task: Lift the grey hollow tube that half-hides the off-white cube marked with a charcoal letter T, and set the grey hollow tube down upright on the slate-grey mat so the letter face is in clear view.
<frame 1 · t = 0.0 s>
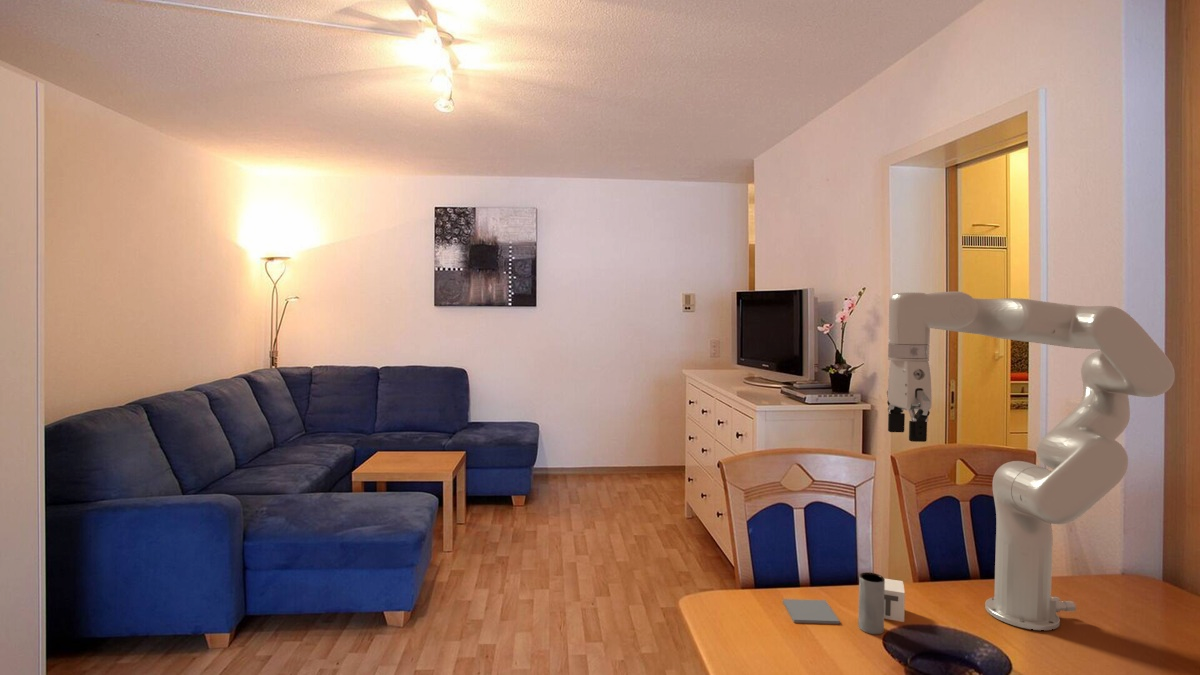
hand: (906, 436, 126), 37 cm above the table, tool pointing down, fingers open, 9 cm apart
grey hollow tube: (870, 629, 121), on the table
grey mat: (810, 612, 127), on the table
letter cube: (887, 612, 127), on the table
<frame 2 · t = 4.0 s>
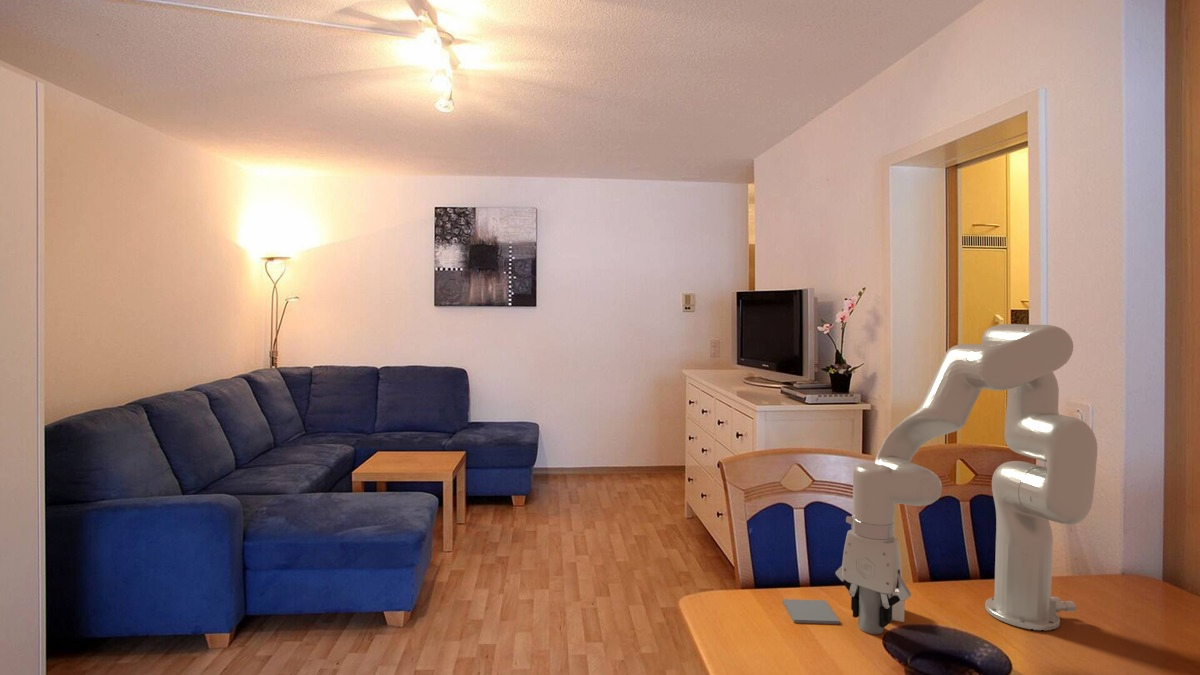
hand: (871, 619, 121), 2 cm above the table, tool pointing down, fingers closed on grey hollow tube, 4 cm apart
grey hollow tube: (870, 629, 121), on the table, touching gripper
everything else where it was.
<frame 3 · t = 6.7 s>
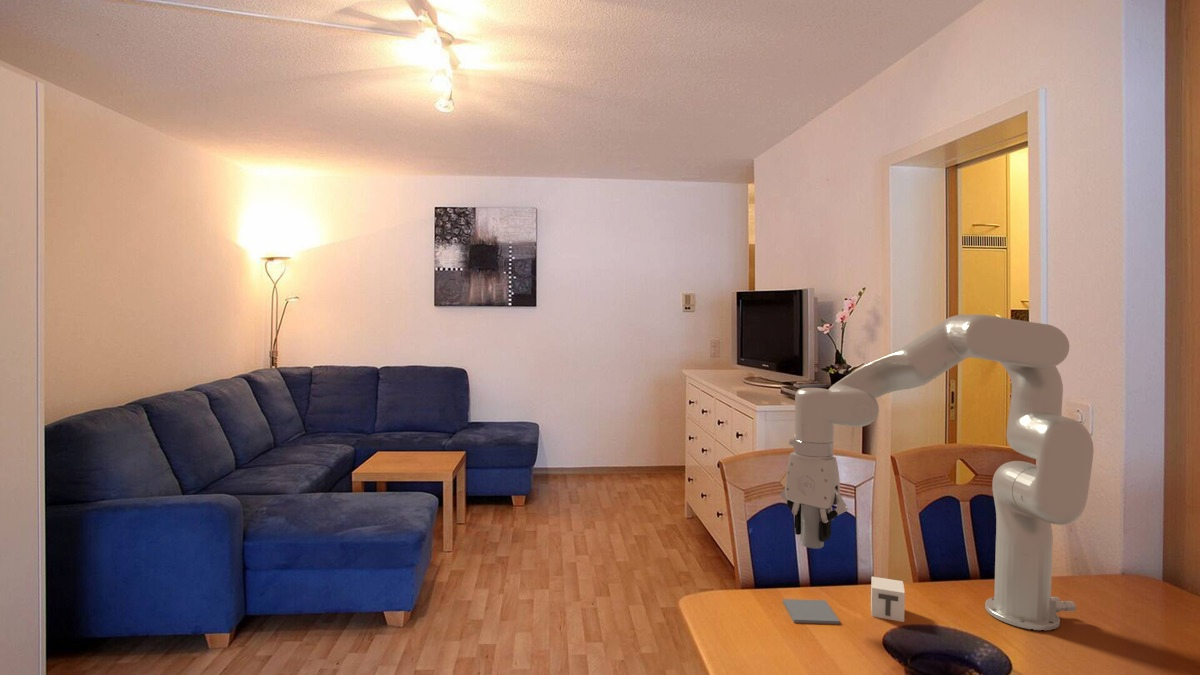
hand: (812, 535, 126), 16 cm above the table, tool pointing down, fingers closed on grey hollow tube, 4 cm apart
grey hollow tube: (812, 545, 127), point 14 cm above the table, touching gripper
everything else where it was.
when the fingers open (4 cm above the table, at t = 9.7 s): grey hollow tube drops 1 cm, resting on grey mat.
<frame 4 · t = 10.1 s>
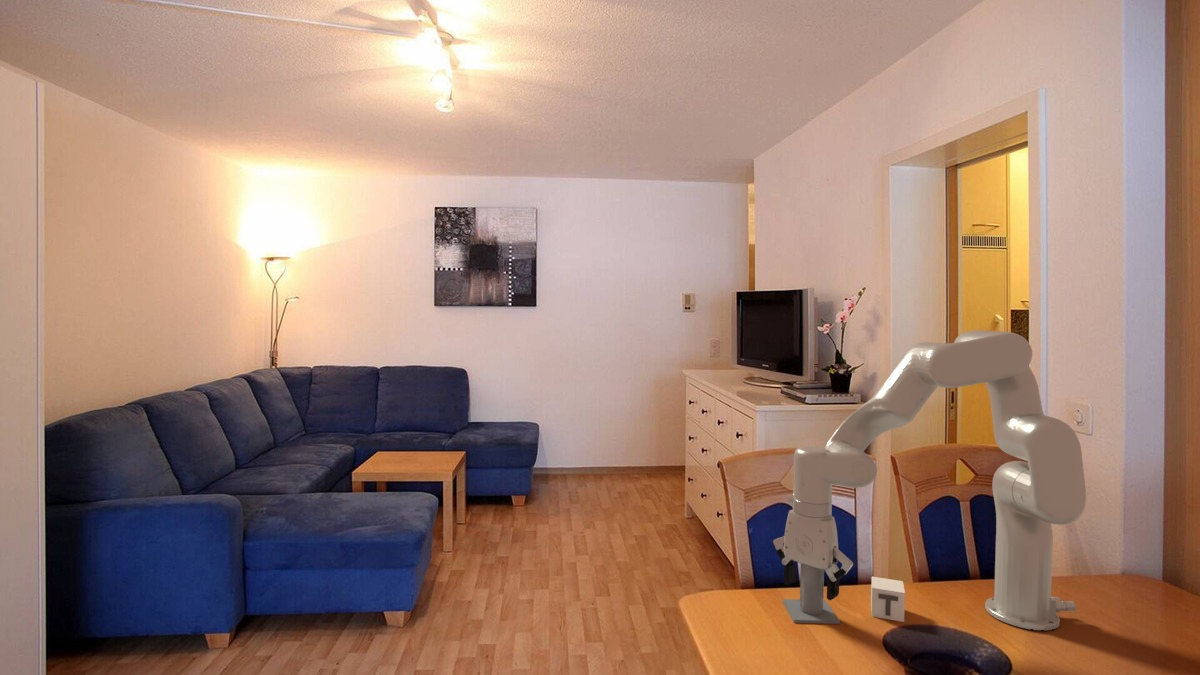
hand: (810, 590, 127), 5 cm above the table, tool pointing down, fingers open, 9 cm apart
grey hollow tube: (811, 610, 127), resting on grey mat
everything else where it was.
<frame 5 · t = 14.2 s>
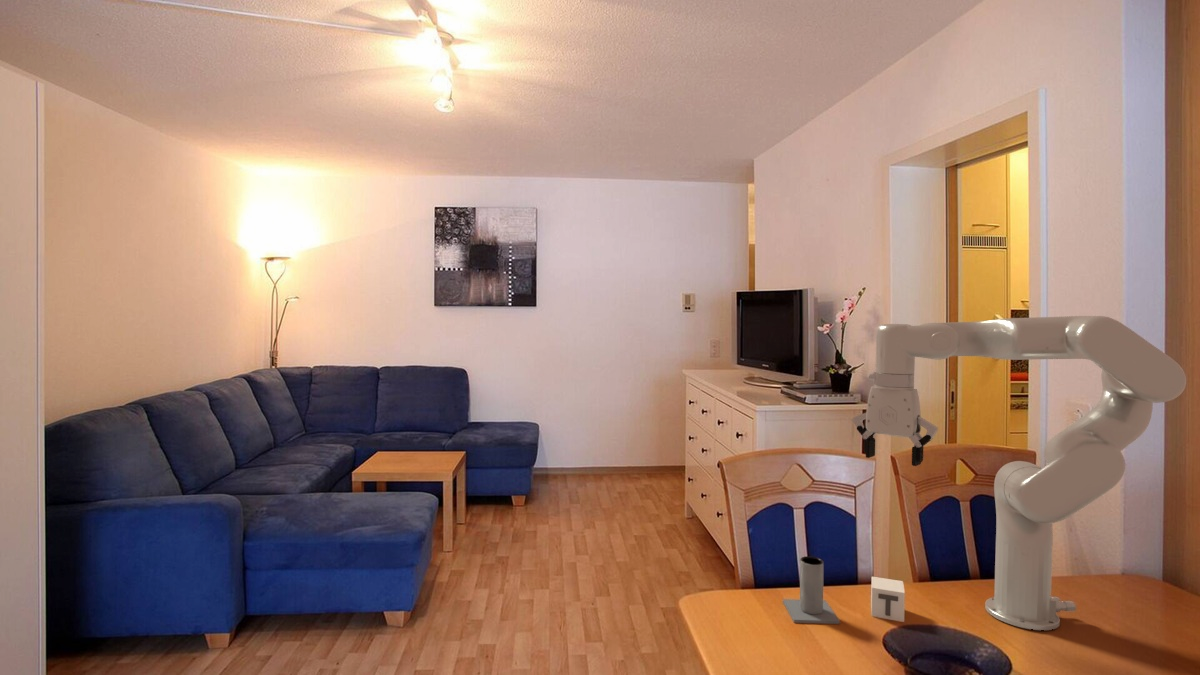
hand: (892, 460, 132), 30 cm above the table, tool pointing down, fingers open, 9 cm apart
nothing on the table moved.
at the end: grey hollow tube inside the target area on the grey mat (0.2 cm from its centre), point 0.4 cm above the grey mat's base; grey hollow tube tilted 1°; letter cube moved 0.1 cm from its start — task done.
